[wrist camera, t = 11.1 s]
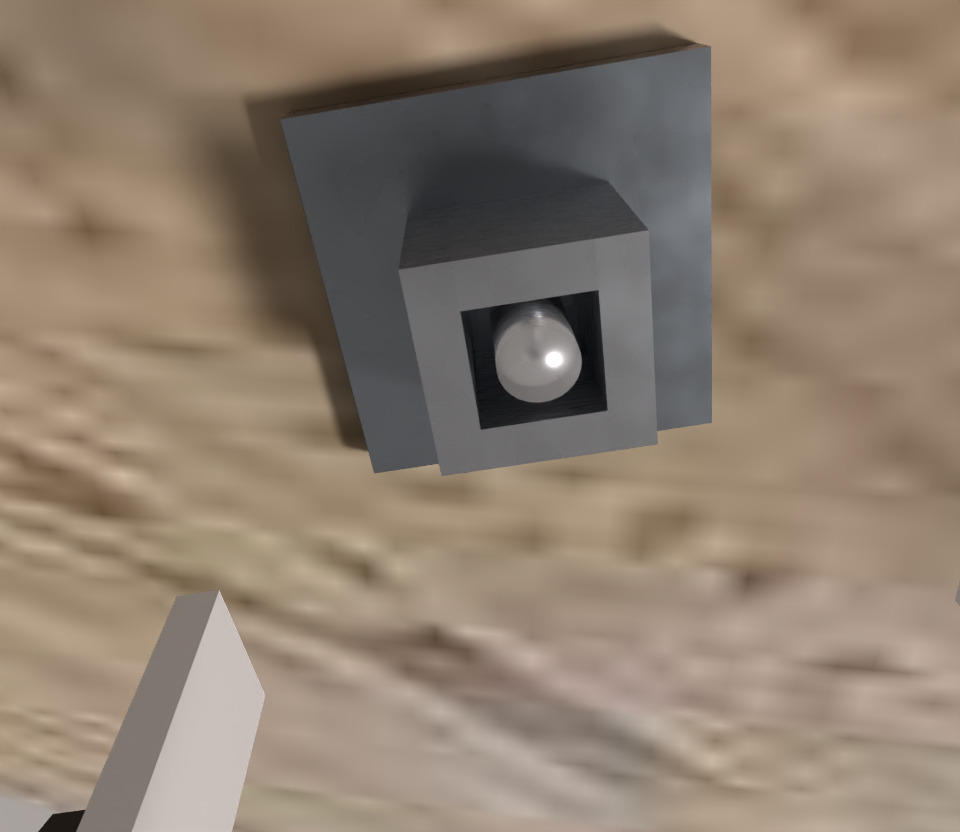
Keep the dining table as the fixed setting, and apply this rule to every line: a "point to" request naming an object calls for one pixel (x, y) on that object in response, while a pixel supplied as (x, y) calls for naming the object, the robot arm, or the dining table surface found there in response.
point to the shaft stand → (501, 174)
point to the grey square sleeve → (524, 277)
